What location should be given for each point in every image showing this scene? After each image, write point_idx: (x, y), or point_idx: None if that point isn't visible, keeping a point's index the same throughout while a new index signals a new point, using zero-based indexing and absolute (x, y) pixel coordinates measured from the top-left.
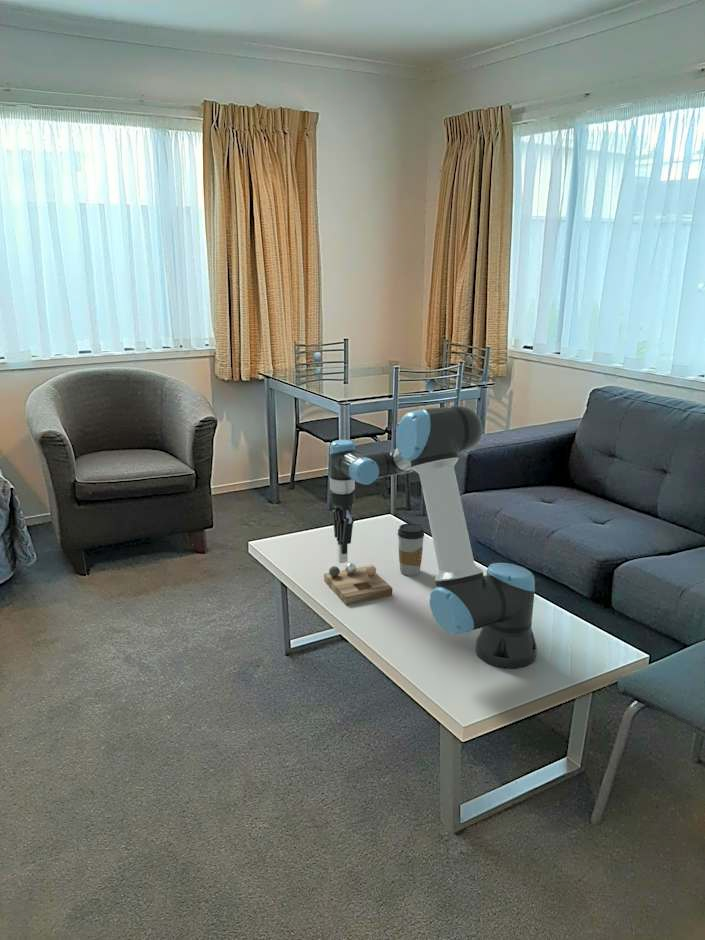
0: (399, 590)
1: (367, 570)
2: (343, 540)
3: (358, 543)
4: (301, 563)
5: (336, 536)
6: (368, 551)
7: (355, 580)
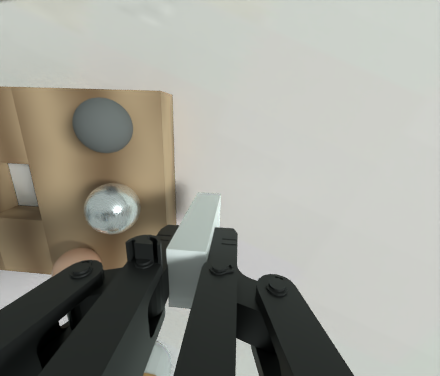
0: (41, 282)
1: (63, 256)
2: (41, 291)
3: (421, 346)
4: (398, 68)
5: (255, 289)
6: (337, 340)
7: (60, 188)
